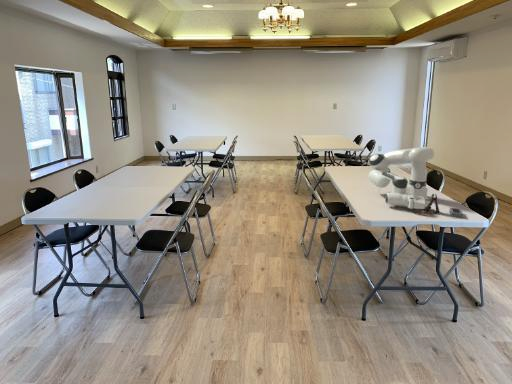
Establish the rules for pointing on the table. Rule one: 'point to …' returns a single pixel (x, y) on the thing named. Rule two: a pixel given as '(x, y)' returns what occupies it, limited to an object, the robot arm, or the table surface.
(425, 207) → the walled lane
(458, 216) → the pit tray
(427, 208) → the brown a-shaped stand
